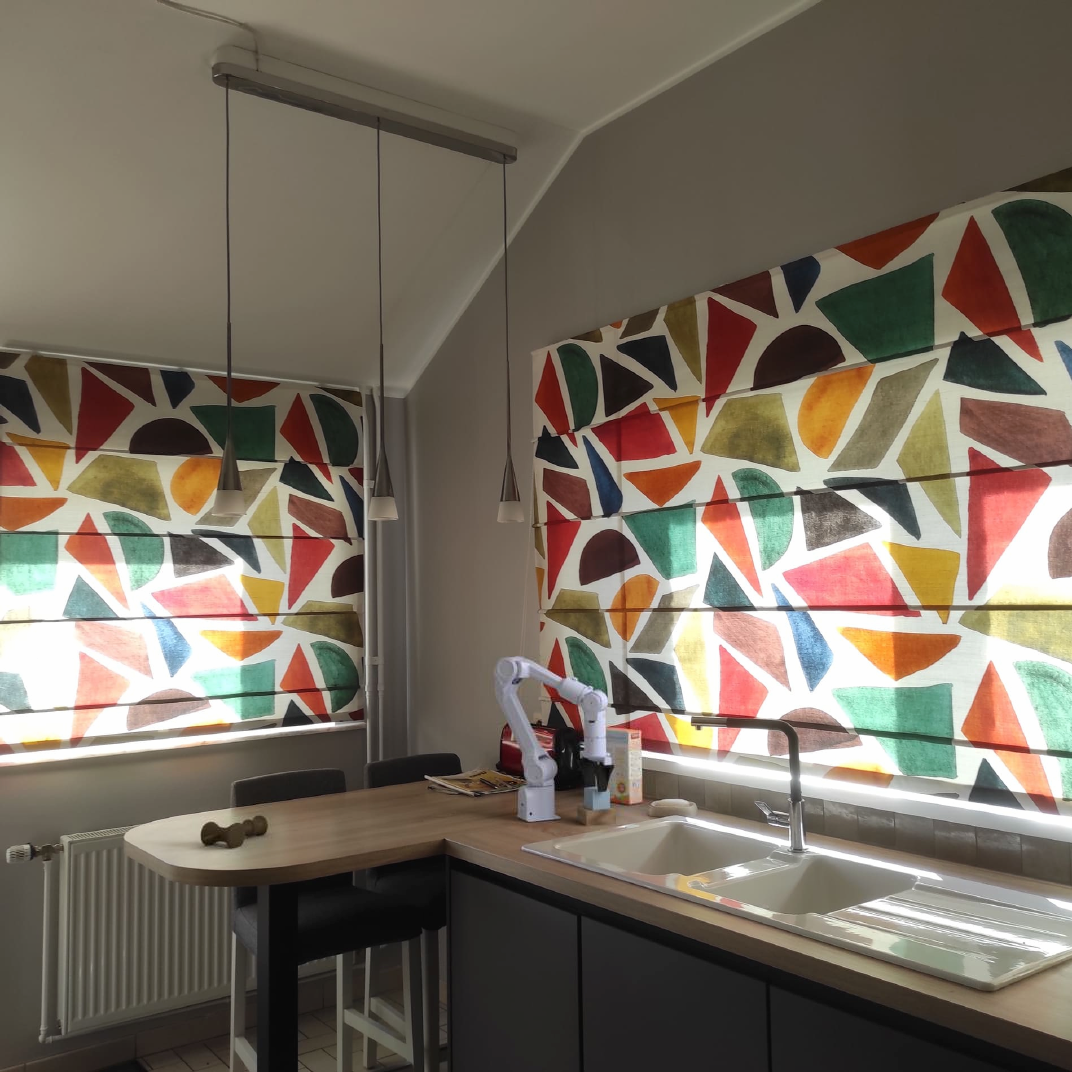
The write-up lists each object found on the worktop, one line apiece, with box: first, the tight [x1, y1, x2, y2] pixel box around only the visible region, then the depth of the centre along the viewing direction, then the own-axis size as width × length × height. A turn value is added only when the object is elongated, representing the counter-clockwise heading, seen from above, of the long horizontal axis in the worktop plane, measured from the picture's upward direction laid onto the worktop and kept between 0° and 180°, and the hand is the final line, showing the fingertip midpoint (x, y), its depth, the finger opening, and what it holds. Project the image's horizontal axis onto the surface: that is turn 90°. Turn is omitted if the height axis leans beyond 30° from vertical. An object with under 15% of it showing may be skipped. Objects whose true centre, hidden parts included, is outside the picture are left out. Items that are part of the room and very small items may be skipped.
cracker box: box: [595, 726, 644, 806], centre depth 288 cm, size 14×6×21 cm, turn 41°
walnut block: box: [576, 805, 617, 827], centre depth 259 cm, size 8×8×4 cm
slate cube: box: [583, 786, 611, 810], centre depth 260 cm, size 5×5×5 cm
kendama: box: [200, 815, 269, 849], centre depth 240 cm, size 6×10×20 cm
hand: (595, 789), depth 260 cm, fingers open, 7 cm apart
